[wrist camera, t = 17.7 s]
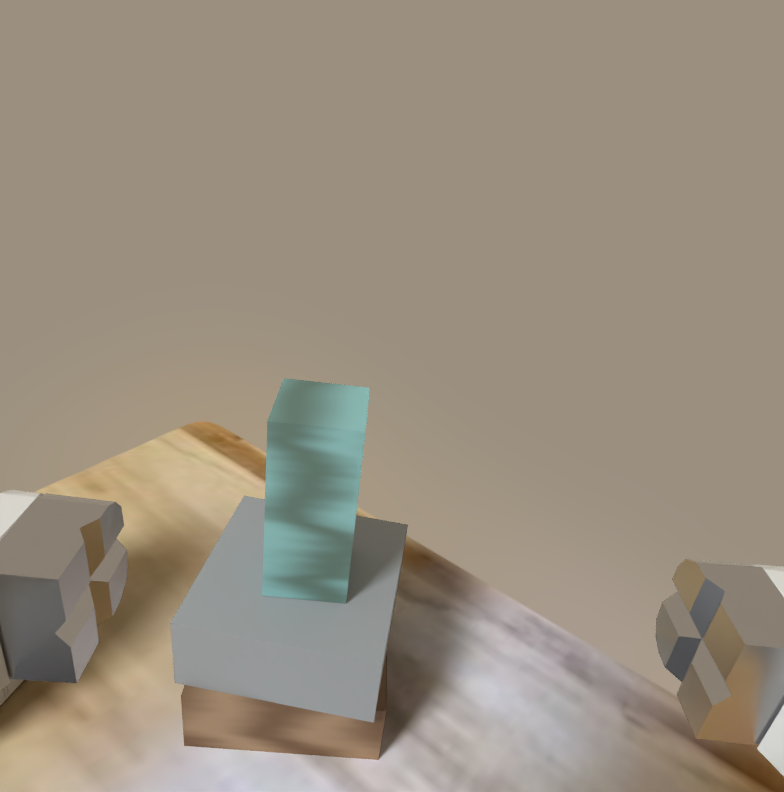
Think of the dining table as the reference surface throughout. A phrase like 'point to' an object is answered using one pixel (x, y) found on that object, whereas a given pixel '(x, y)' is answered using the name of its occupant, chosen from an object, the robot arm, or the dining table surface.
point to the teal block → (312, 489)
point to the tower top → (289, 623)
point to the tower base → (278, 725)
